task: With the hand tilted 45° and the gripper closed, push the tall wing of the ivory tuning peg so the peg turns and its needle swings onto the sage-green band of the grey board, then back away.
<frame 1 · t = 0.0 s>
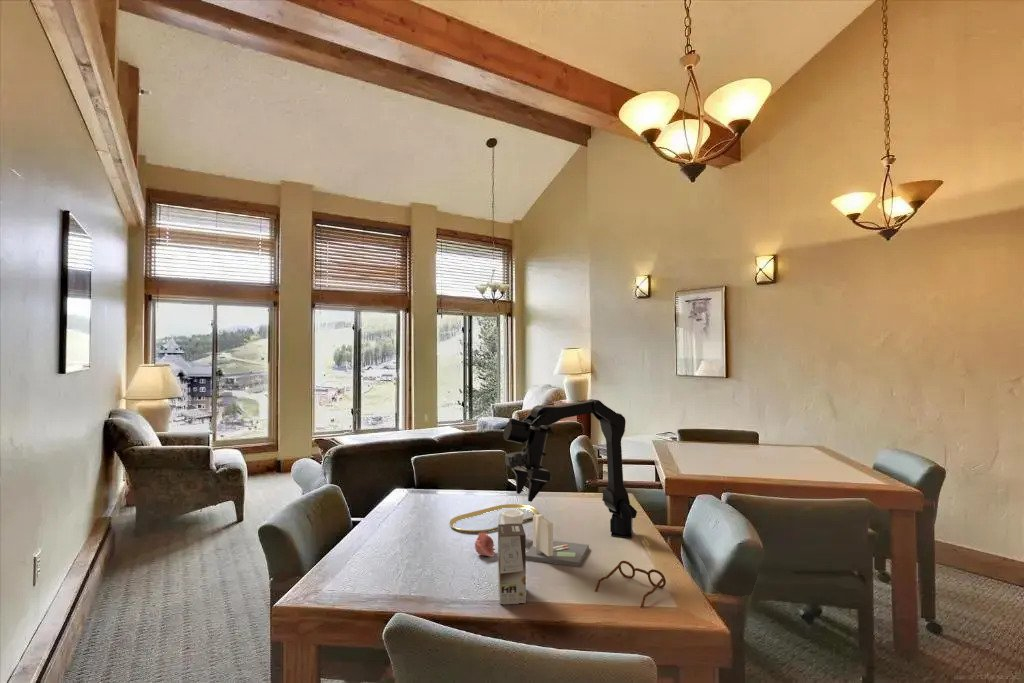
hand: (523, 497, 157), 15 cm above the table, tool pointing down, fingers open, 9 cm apart
tuning peg: (554, 533, 150), point 7 cm above the table, hinge at 0.0°
cup: (509, 537, 167), on the table
flower: (485, 555, 152), on the table
yellow oval loop: (494, 521, 184), on the table
grey board: (557, 554, 152), on the table
coffee box: (511, 596, 126), on the table
glasses: (630, 593, 128), on the table
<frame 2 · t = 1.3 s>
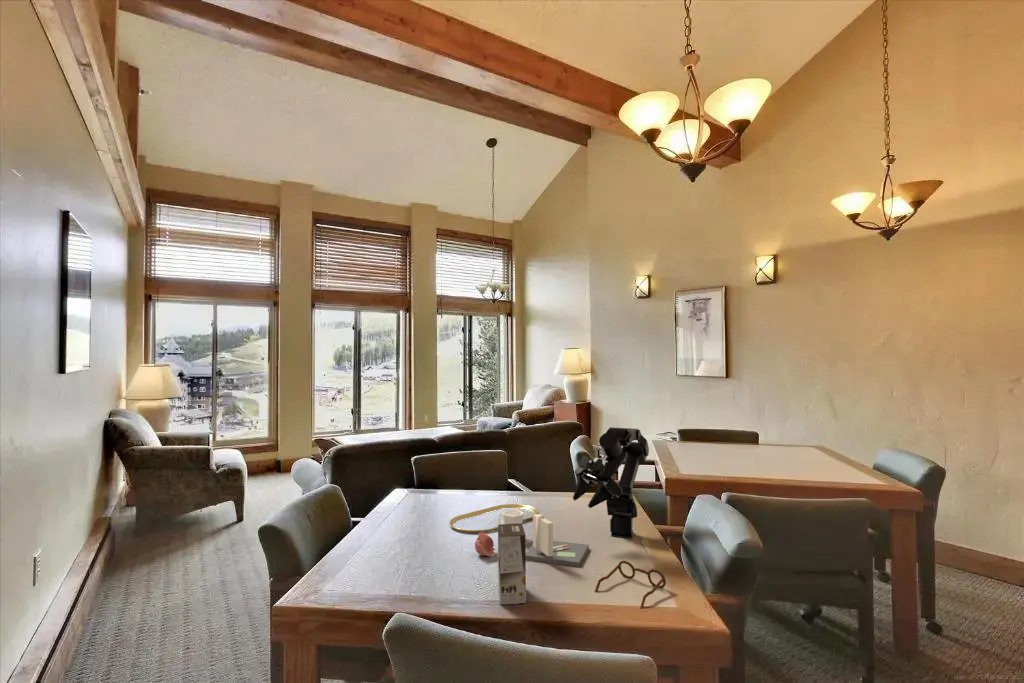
hand: (581, 503, 157), 13 cm above the table, tool tilted 45°, fingers open, 8 cm apart
nothing on the table moved.
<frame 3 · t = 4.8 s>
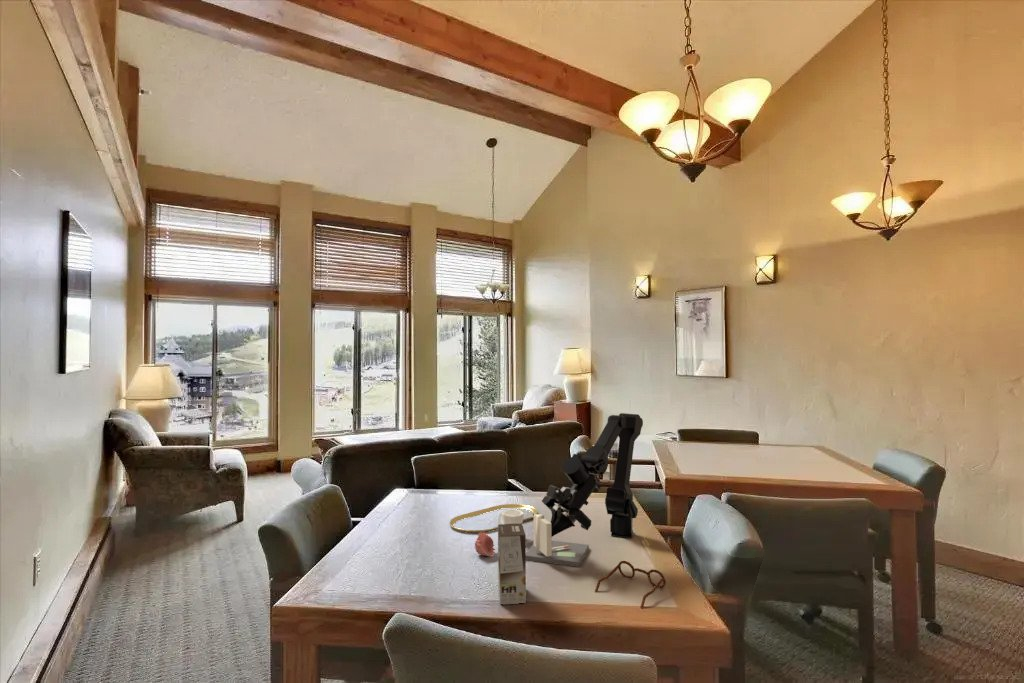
hand: (548, 536, 146), 7 cm above the table, tool tilted 45°, fingers closed, pressing on tuning peg
tuning peg: (554, 533, 150), point 7 cm above the table, hinge at -4.2°, touching gripper
everything else where it was.
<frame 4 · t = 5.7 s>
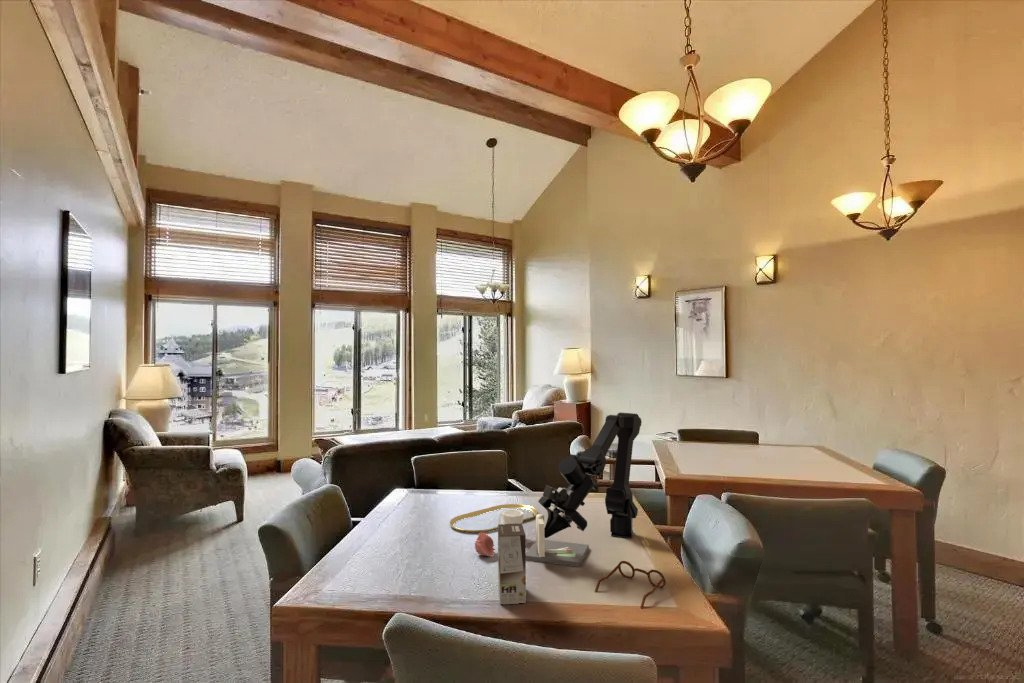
hand: (544, 536, 146), 7 cm above the table, tool tilted 45°, fingers closed, pressing on tuning peg
tuning peg: (554, 535, 148), point 7 cm above the table, hinge at -24.3°, touching gripper
everything else where it was.
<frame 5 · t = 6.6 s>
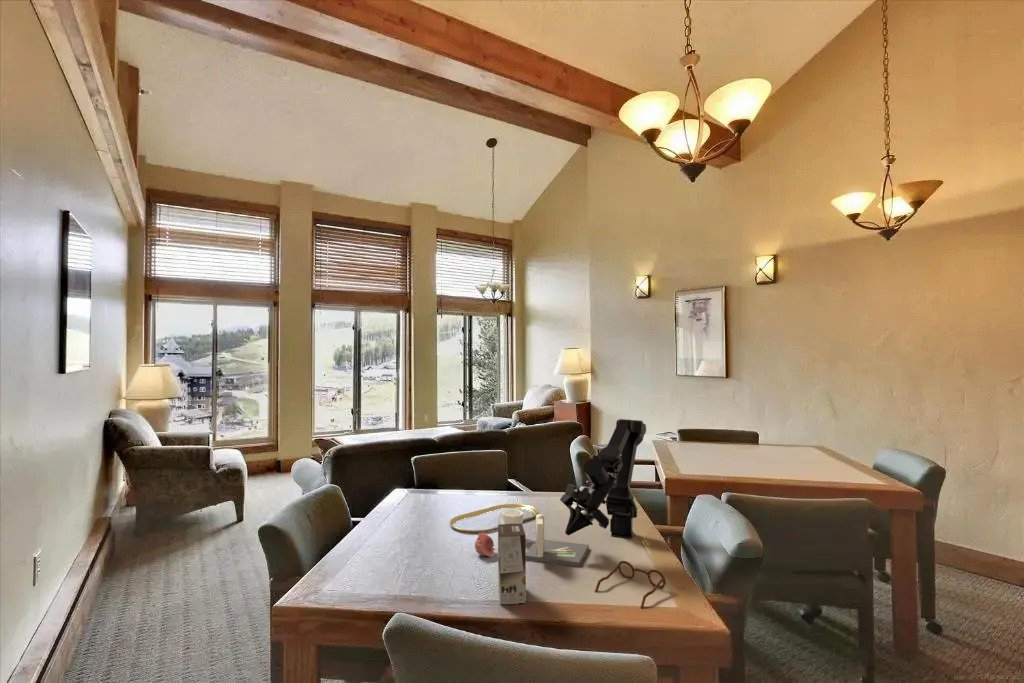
hand: (566, 534, 149), 7 cm above the table, tool tilted 45°, fingers closed
tuning peg: (554, 535, 148), point 7 cm above the table, hinge at -28.3°
everything else where it was.
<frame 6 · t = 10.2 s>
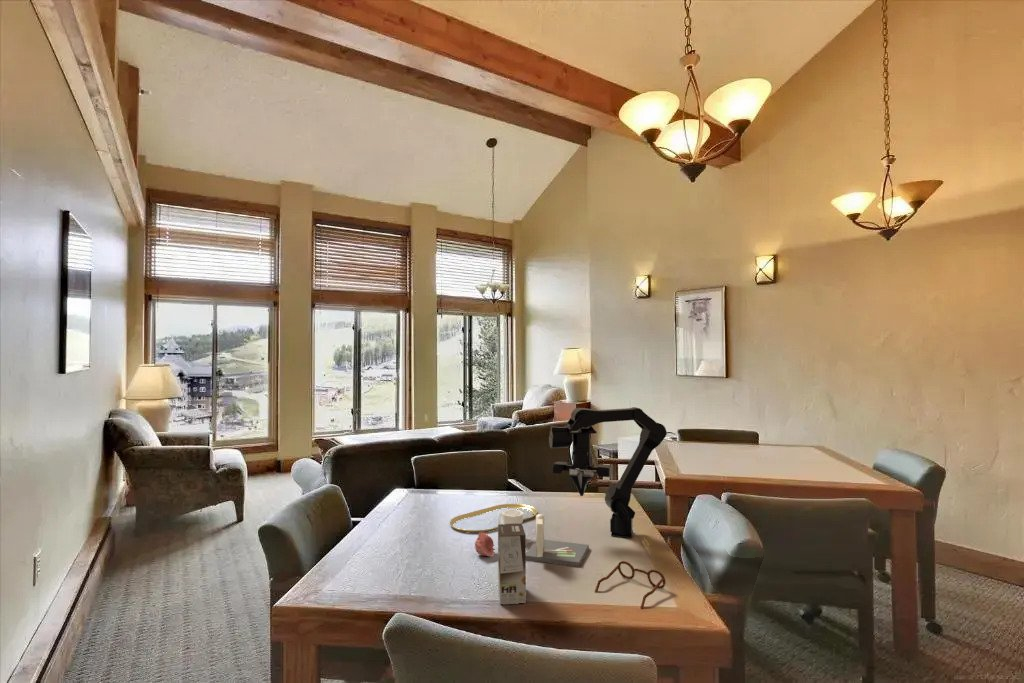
hand: (581, 495, 167), 13 cm above the table, tool pointing down, fingers closed
tuning peg: (554, 535, 148), point 7 cm above the table, hinge at -29.2°
everything else where it was.
at the end: tuning peg at -29° (first picture: +0°); cup moved 0.2 cm from its start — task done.
